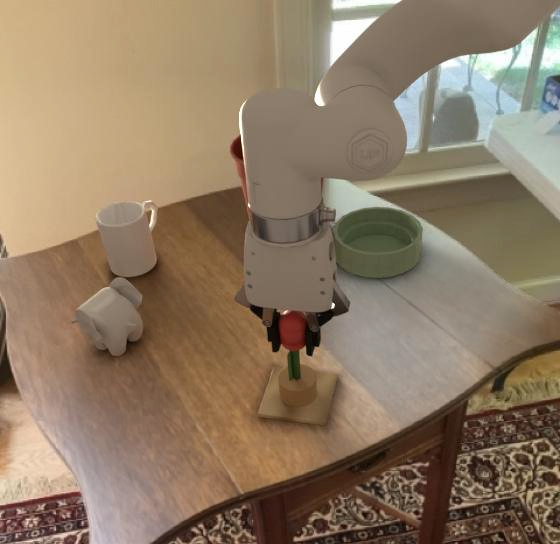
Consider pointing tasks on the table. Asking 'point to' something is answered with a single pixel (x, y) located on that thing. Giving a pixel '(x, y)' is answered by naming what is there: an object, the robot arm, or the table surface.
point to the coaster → (305, 414)
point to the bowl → (377, 242)
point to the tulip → (295, 362)
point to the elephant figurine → (112, 316)
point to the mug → (128, 237)
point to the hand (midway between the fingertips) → (294, 345)
